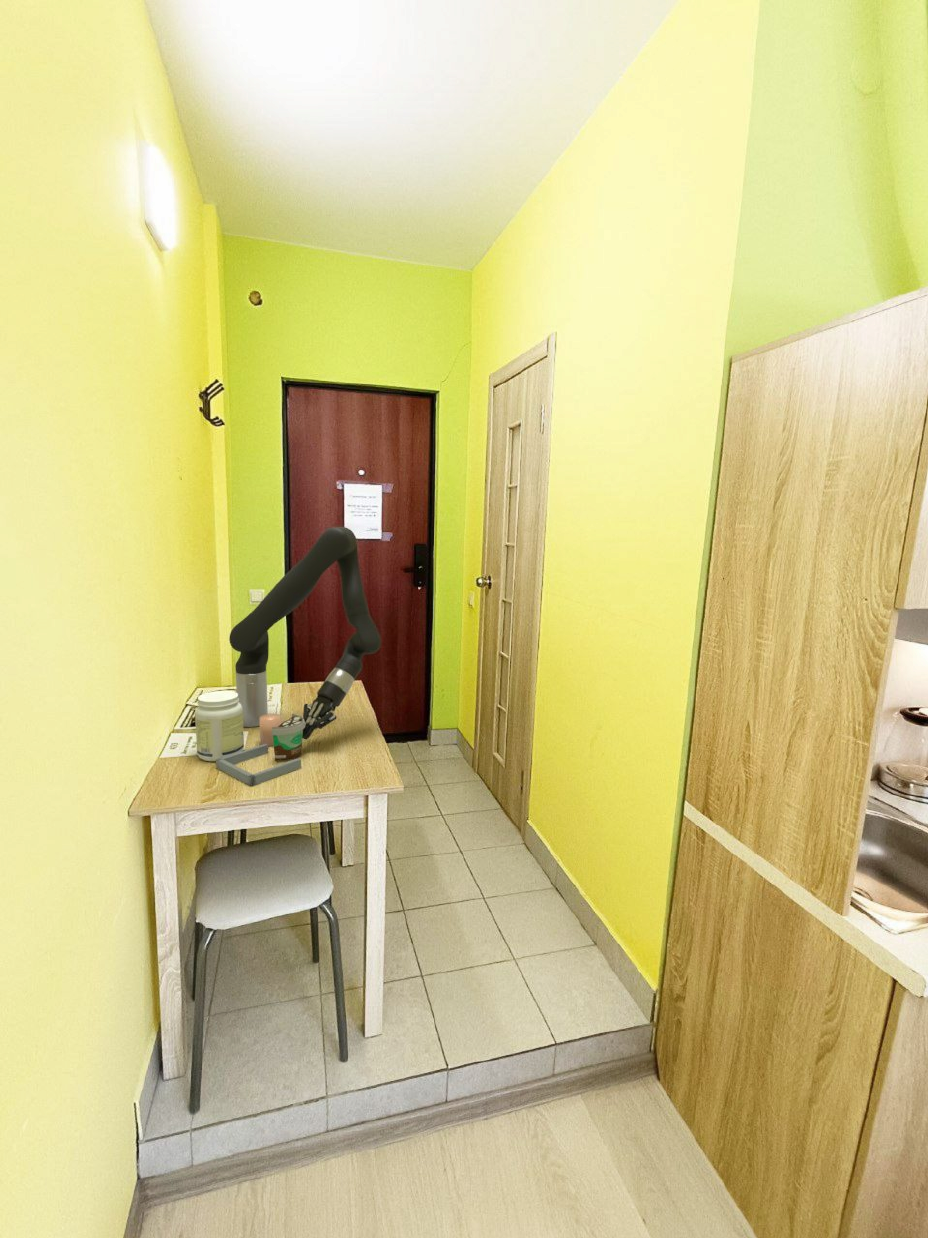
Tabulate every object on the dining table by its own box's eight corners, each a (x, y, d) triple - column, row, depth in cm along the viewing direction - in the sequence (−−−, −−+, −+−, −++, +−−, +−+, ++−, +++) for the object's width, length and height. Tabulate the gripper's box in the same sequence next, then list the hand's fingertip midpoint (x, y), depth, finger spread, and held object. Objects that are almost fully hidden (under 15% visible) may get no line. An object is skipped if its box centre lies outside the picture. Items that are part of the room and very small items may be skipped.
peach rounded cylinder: (256, 743, 172) (255, 717, 171) (273, 737, 177) (273, 712, 175) (268, 748, 168) (267, 721, 167) (285, 742, 173) (285, 716, 172)
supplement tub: (244, 744, 171) (242, 688, 168) (243, 760, 160) (241, 700, 157) (199, 748, 167) (196, 691, 164) (194, 765, 156) (191, 704, 153)
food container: (293, 765, 157) (292, 729, 156) (272, 762, 158) (271, 727, 157) (313, 748, 169) (312, 715, 168) (293, 746, 170) (293, 713, 169)
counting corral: (216, 768, 154) (216, 759, 154) (265, 751, 166) (265, 743, 165) (251, 786, 144) (251, 777, 144) (301, 767, 156) (300, 759, 155)
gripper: (314, 676, 174) (280, 726, 167) (343, 684, 166) (309, 737, 159) (328, 689, 179) (296, 738, 172) (358, 698, 171) (325, 750, 164)
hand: (302, 737), depth 165 cm, fingers closed
